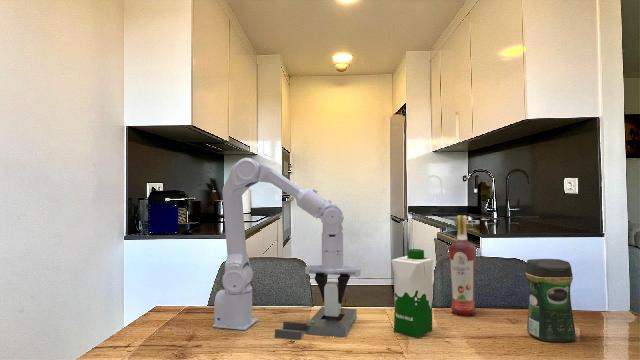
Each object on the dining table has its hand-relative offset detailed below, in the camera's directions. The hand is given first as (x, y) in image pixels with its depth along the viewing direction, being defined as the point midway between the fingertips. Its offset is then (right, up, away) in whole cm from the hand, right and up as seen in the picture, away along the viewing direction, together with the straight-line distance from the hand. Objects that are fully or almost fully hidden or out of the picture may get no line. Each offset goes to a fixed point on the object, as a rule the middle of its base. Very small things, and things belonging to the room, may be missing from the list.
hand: (332, 302), depth 101 cm
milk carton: (+20, -6, -5) cm, 21 cm away
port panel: (0, -6, 0) cm, 6 cm away
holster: (-10, -6, -6) cm, 13 cm away
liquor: (+38, -6, +9) cm, 39 cm away
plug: (0, -3, 0) cm, 3 cm away
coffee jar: (+52, -6, -9) cm, 53 cm away
